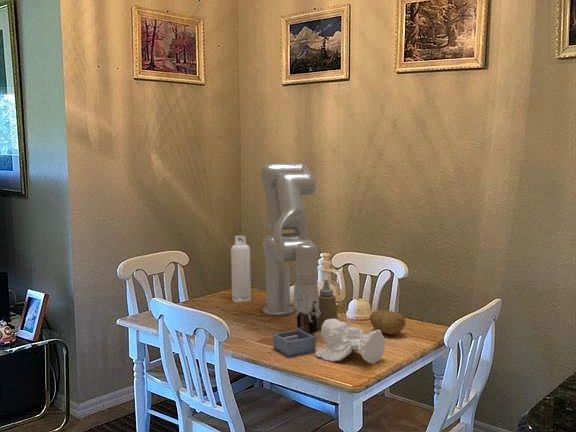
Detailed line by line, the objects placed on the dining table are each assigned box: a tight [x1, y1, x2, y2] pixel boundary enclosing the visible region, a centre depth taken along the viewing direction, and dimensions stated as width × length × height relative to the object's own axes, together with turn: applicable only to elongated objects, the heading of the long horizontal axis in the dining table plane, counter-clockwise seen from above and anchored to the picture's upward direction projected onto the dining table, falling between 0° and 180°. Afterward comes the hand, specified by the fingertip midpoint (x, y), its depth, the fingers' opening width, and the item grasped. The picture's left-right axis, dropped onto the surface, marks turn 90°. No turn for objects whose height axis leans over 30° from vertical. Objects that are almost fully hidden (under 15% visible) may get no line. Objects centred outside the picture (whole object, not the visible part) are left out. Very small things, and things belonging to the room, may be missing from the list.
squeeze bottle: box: [317, 279, 338, 330], centre depth 219 cm, size 8×8×18 cm
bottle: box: [230, 235, 252, 303], centre depth 260 cm, size 8×8×28 cm
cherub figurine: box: [314, 318, 386, 365], centre depth 189 cm, size 13×12×20 cm
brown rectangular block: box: [300, 312, 315, 337], centre depth 209 cm, size 2×4×10 cm, turn 120°
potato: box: [369, 309, 406, 335], centre depth 214 cm, size 10×14×8 cm
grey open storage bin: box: [272, 328, 316, 359], centre depth 197 cm, size 10×10×5 cm
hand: (307, 329), depth 209 cm, fingers open, 6 cm apart
